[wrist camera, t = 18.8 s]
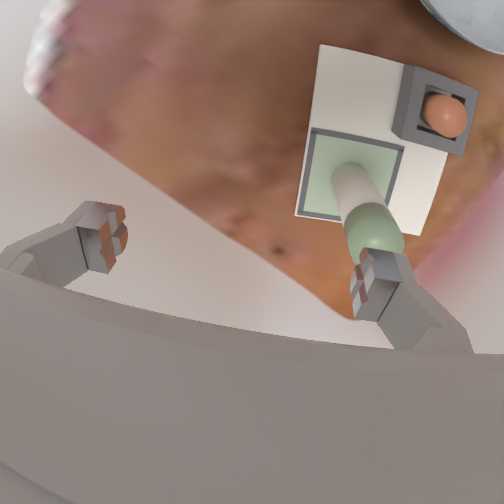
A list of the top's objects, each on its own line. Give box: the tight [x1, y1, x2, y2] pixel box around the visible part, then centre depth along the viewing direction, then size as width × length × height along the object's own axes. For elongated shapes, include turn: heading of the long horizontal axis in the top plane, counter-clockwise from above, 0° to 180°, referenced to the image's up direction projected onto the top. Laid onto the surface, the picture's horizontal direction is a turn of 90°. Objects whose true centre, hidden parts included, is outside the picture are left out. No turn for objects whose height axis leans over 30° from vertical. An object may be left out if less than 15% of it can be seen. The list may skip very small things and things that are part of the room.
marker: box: [331, 163, 405, 265], centre depth 25 cm, size 4×4×12 cm
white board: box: [295, 44, 479, 236], centre depth 27 cm, size 18×15×4 cm
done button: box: [419, 91, 467, 138], centre depth 22 cm, size 4×4×4 cm
